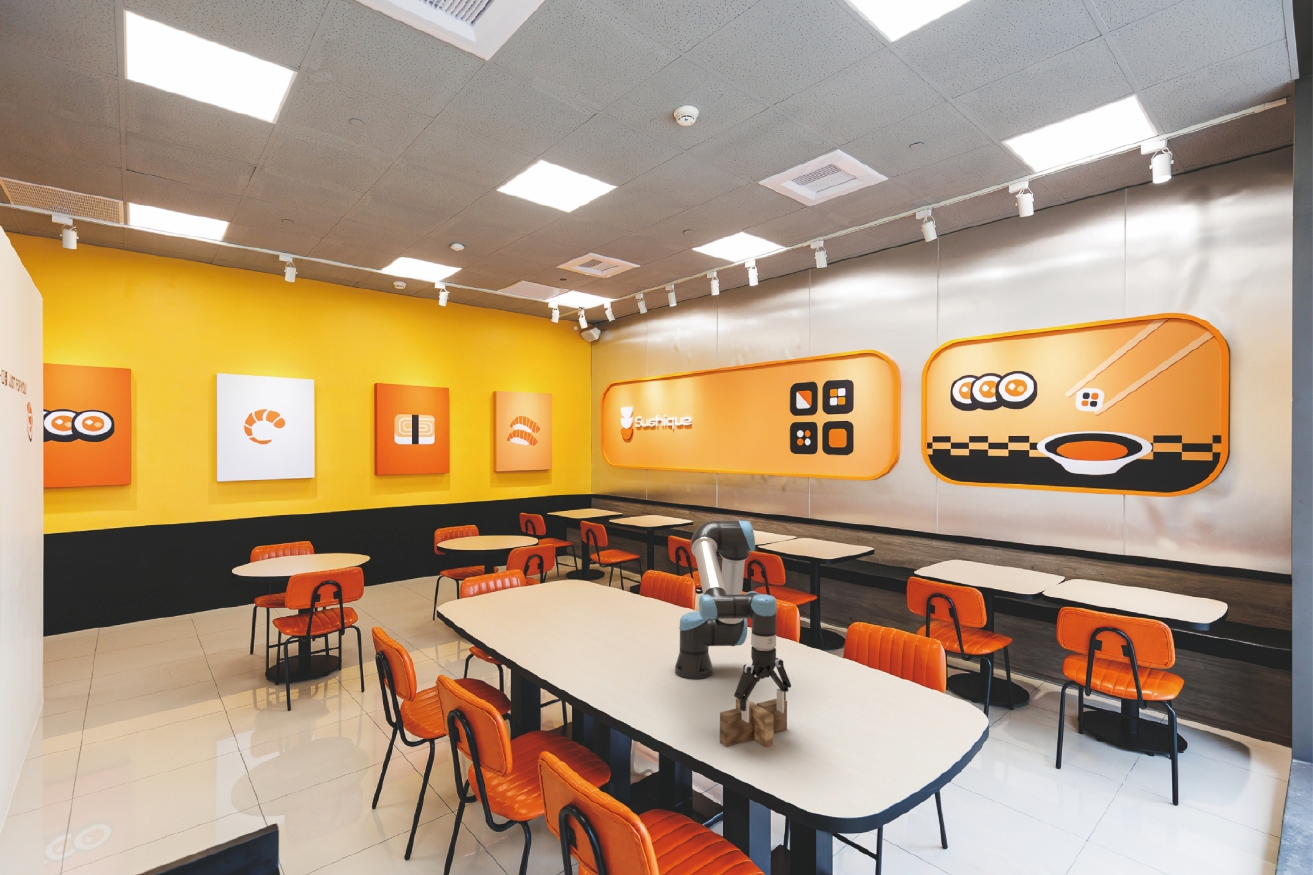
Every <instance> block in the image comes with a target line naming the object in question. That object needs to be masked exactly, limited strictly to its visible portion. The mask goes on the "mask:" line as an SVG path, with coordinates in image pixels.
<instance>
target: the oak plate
mask: <svg viewBox="0 0 1313 875" xmlns="http://www.w3.org/2000/svg"><path fill="white" fill-rule="evenodd" d="M748 700H749V699H748ZM736 708H740V700H739V699H737V698H736V697H735V709H736ZM749 708H750V709H751V710H752V723H753V724H754V725H755V738H754V740H755V741H756V742H758V743H759V744H760V745H762V746H763V747H765V748H766V747H770V746H773V745H774V733H773V718H774V715H773V714H771V713H770V712H768V711H766V710H765V709H763V708H761V707H760V706H758V705H757V703H755V702H753V701H752V700H749Z"/></svg>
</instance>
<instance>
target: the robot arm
mask: <svg viewBox="0 0 1313 875" xmlns="http://www.w3.org/2000/svg"><path fill="white" fill-rule="evenodd" d="M750 522H751V521H748V520H709V521H706V522H704V523H702V524H700V525H699V526H698V527H697V528H696V529H695V531H694V532H693V534H692V537H691V539H690V549H691V553H692V555H693V556H694V557H695V561H696V565H697V569H698V570H697V571H698V575H699V580H700V584H701V589H702V594H701V595H700V596H699V599H698V609H699V610H697V611H696V610H694V611H692V612H687V613H685V614H683V615H682V616H680V618H679V619H680V621H679V629H678V630H679V652H678V657H677V659H676V662H675V665H674V671H675V672H674V673H675V674H676V675H677V676H678V677H681V678H685V679H689V680H702V679H707V678H710V677H711V676H712V675H713V673H714V672H713V671H714V668H713V664H712V660H711V658H710V657H711V656H710V654H709V647H736V646H742V645H744V644H745V642H746V640H747V636H748V625H749V624H748V619H750V620H751V634H750V635H751V640H750V641H751V651H750V653H751V655H750V657H751V658H750V659H751V661H752V663H751V665H747V664H744V665H743V666H742V668H743V669H742V674H741V675H740V679H739V682H738V684H737V687H736V689H735V692H734V698H735V699H736V698H737V699H739V700H740V709H741V710H742V720H744V721H745V722H747V723H748V722H749V699H748V698H749V697H750V694H752V692H753V690H754V689H755V686H756V685H757V683H759V682H760V681H761V680H763V679H765V678H771V679H772V680H773V682H774V683H775V684H776V685H777V687H778V688H776V699H777V710H778V711H780V712H781V713H784V701H785V700H786V699H787V698H786V697H787V696H786V694H787V693H788V692H789V688H790V689H791V687H792V684H791V681H790V678H789V677H788V676H789V675H788V674H787V672H786V669H785V666H784V660H783V659H780V658H779V657H777V649H776V647H777V612H778V607H777V606H778V605H777V599H776V597H774V596H773V595H770V594H763V593H762V594H761V593H759V592H757V591H755V590H754V591H753V590H752V591H748V592H746V593H744V594H743V585H744V574H745V563H746V562H745V561H746V560H747V559H749V558H750V552H751V553H753V552H755V551H756V550H755V549H756V538H755V537H756V536H755V531H754V528H753V525H752V523H750ZM717 552H718V553H719V556H720V557H721V558H722V563H721V567H720V563H719V560H718V555H717ZM775 668H776V670H777V672H778V674H779V675H778V674H777V672H776V671H775Z"/></svg>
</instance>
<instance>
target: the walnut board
mask: <svg viewBox="0 0 1313 875" xmlns="http://www.w3.org/2000/svg"><path fill="white" fill-rule="evenodd" d="M756 705H758V706H760V707H761V708H763V709H765V710H766V711H768V712H770V713H771V714H773V715H774V718H773V734H775V733H777V732H782V731H785V730H788V700H786V699H785V701H784V713H781V712H780V711H778V710H777V698H773V699H769V700H765V701H762V702H761V701H760V702H757V703H756ZM753 739H754V740H755V725H754V724H753V723H752V710H751V709H750V708H749V722H748V723H747V722H745V721H744V720H742V710H741V709H740V708H736V707H735V708H732V709H728V710H724V711H719V743H720V744H721V745H723V746H724V747H728V746H732V745H734V744H738V743H742V742H746V741H749V740H753Z"/></svg>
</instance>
